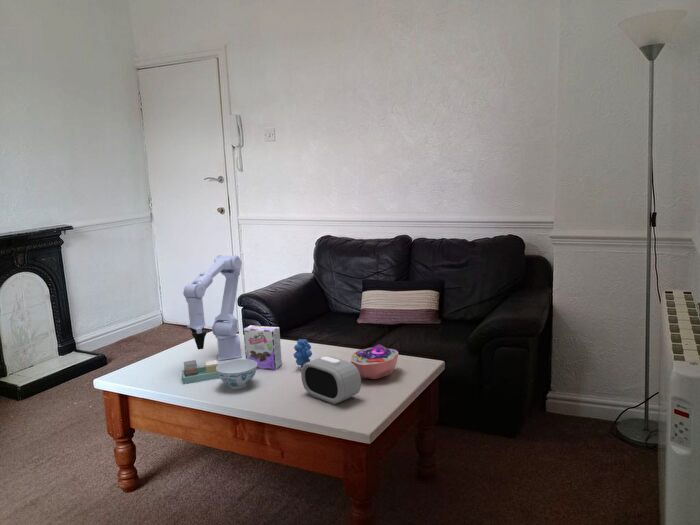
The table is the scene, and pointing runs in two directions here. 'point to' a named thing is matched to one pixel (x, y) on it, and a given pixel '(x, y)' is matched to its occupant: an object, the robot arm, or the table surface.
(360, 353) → the cell model
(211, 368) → the carton
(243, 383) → the chinaware
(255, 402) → the table surface
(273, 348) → the candy box
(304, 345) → the grapes
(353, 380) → the alarm clock
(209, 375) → the tray
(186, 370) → the tin
